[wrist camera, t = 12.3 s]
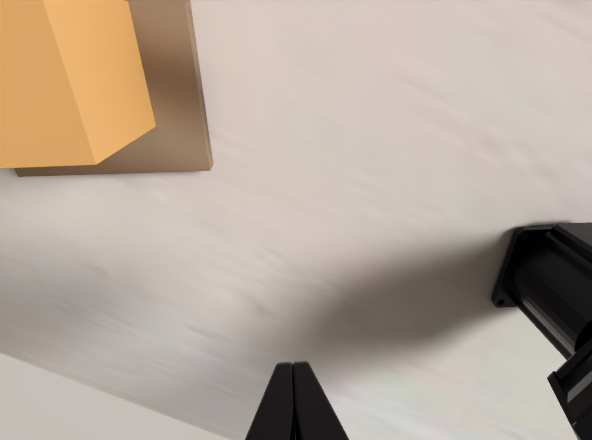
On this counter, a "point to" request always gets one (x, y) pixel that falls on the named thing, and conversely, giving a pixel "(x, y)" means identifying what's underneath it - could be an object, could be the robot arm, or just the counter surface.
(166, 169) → the walnut base
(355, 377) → the counter surface
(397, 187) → the counter surface
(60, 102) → the tan wooden cube
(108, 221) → the counter surface
